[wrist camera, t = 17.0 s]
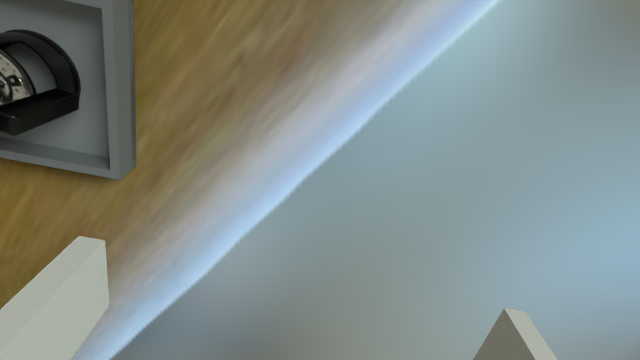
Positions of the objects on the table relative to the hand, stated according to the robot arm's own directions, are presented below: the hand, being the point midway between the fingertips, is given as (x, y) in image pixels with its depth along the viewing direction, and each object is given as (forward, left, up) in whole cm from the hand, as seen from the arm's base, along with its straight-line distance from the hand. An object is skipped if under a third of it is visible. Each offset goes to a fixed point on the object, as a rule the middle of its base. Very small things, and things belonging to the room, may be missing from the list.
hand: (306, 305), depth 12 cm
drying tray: (+4, -30, -32) cm, 44 cm away
